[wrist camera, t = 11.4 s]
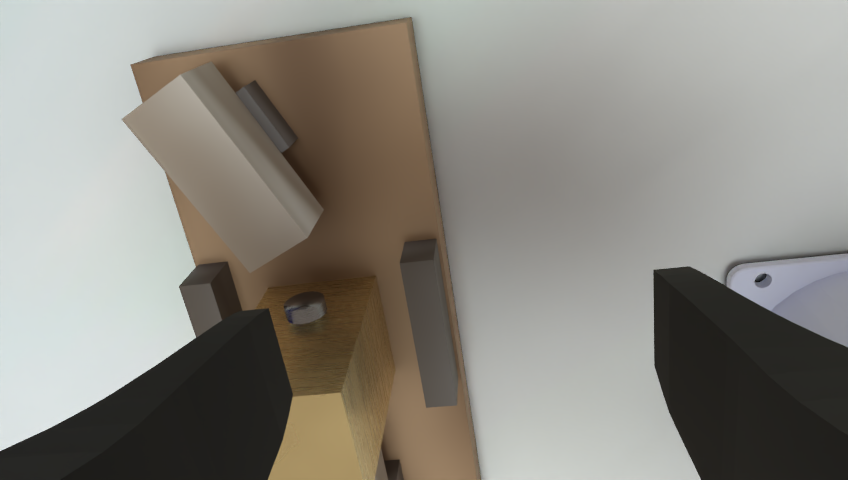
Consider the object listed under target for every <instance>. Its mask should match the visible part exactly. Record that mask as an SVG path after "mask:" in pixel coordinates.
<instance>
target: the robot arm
mask: <svg viewBox="0 0 848 480" xmlns="http://www.w3.org/2000/svg"><path fill="white" fill-rule="evenodd" d="M763 273H765V274H767V276H766V278H765V279H764V280H763V281H761V282H754V281H755V279H756V277H757V276H758V275H760V274H763ZM654 358H655V369H656V372H657V375H658V378H659V382H660V385H661V388H662V392H663V395H664V398H665V401H666V404H667V407H668V410H669V413H670V415H671V417H672V419H673V421H674V424H675V426H676V428H677V430H678V432H679V434H680V436H681V438H682V441H683V443H684V445H685V447H686V449H687V451H688V453H689V455H690V457H691V459H692V462H693V464H694V466H695V468H696V470H697V472H698V474H699V476H700V478H701V480H848V253H847V254H837V255H827V256H816V257H806V258H796V259H786V260H776V261H766V262H756V263H745V264H740V265H737V266H735V267H734V268H732V269H731V271H730V272H729V273H728V276H727V286H725V285H723V284H721V283H719V282H718V281H716V280H714V279H712V278H711V277H709V276H707V275H705V274H703V273H701V272H700V271H698V270H696V269H693V268H691V267H679V268H669V269H659V270H654ZM292 398H293V393H292V389H291V385H290V382H289V378H288V375H287V371H286V368H285V364H284V361H283V357H282V354H281V350H280V346H279V343H278V339H277V336H276V332H275V329H274V325H273V322H272V318H271V315H270V311H269V308H265V309H255V310H245V311H238V312H236V313H234V314H232V315H230V316H229V317H227V318H225V319H224V320H222V321H220V322H219V323H217V324H216V325H214V326H213V327H211V328H210V329H208V330H207V331H205V332H204V333H202V334H201V335H200V336H198V337H197V338H195V339H194V340H192V341H191V342H189V343H188V344H187V345H185V346H184V347H182V348H181V349H179V350H178V351H176V352H175V353H174V354H172V355H171V356H169V357H168V358H166V359H165V360H163V361H162V362H161V363H159V364H158V365H156V366H154V367H153V368H151V369H150V370H148V371H147V372H145V373H144V374H142V375H141V376H139V377H137V378H136V379H134V380H133V381H131V382H130V383H128V384H127V385H125V386H123V387H122V388H120V389H119V390H117V391H116V392H114V393H113V394H111V395H109V396H108V397H106V398H104V399H103V400H101V401H99V402H97V403H96V404H94V405H92V406H90V407H89V408H87V409H85V410H83V411H81V412H79V413H78V414H76V415H74V416H72V417H70V418H68V419H66V420H65V421H63V422H61V423H59V424H57V425H55V426H53V427H51V428H49V429H47V430H45V431H43V432H41V433H39V434H37V435H34V436H32V437H30V438H28V439H26V440H24V441H21V442H19V443H17V444H15V445H13V446H11V447H8V448H6V449H4V450H2V451H0V480H268V478H269V475H270V472H271V470H272V467H273V465H274V462H275V459H276V457H277V454H278V452H279V449H280V446H281V444H282V441H283V437H284V433H285V429H286V425H287V421H288V417H289V412H290V407H291V403H292Z"/></svg>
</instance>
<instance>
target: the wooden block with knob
mask: <svg viewBox="0 0 848 480" xmlns="http://www.w3.org/2000/svg"><path fill="white" fill-rule="evenodd" d="M265 308H269V311H270V315H271V318H272V322H273V325H274V329H275V332H276V336H277V339H278V343H279V346H280V350H281V354H282V357H283V361H284V364H285V368H286V371H287V375H288V378H289V382H290V385H291V389H292V393H293V398H292V403H291V407H290V412H289V417H288V421H287V425H286V429H285V433H284V437H283V441H282V444H281V446H280V449H279V452H278V454H277V457H276V459H275V462H274V465H273V467H272V470H271V472H270V475H269V478H268V480H375V475H376V470H377V465H378V460H379V454H380V449H381V444H382V438H383V433H384V428H385V422H386V417H387V412H388V407H389V401H390V396H391V391H392V385H393V380H394V375H395V370H396V368H395V364H394V359H393V354H392V349H391V345H390V340H389V335H388V330H387V325H386V321H385V316H384V311H383V306H382V302H381V297H380V292H379V287H378V282H377V278H376V276H368V277H359V278H350V279H341V280H332V281H323V282H314V283H304V284H295V285H286V286H277V287H268V289H267V291H266V292H265V294H264V295H263V297H262V299H261V300H260V302H259V304H258V305H257V307H256V309H265Z"/></svg>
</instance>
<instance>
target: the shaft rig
mask: <svg viewBox="0 0 848 480" xmlns="http://www.w3.org/2000/svg"><path fill="white" fill-rule="evenodd" d="M131 68H132V71H133V74H134V77H135V80H136V83H137V86H138V89H139V93H140V96H141V99H142V102H143V103H142V104H141V105H140V106H138V107H137V108H136V109H134V110H133V111H132V112H131V113H129V114H128V115H127V116H125V117H124V118H123V119H122V120H123V122H124V123H125V124H126V125H127V126H128V128H129V129H130V130H131V131H132V132H133V134H134V135H135V136H136V137H137V138H138V140H139V141H140V142H141V143H142V144H143V146H144V147H145V148H146V149H147V150H148V152H149V153H150V154H151V155H152V156H153V158H154V159H155V160H156V161H157V162H158V164H159V165H160V166H161V167H162V168H163V170H164V171H165V173H166V176H167V179H168V182H169V185H170V188H171V191H172V194H173V197H174V201H175V204H176V207H177V210H178V213H179V216H180V219H181V222H182V225H183V228H184V231H185V234H186V238H187V241H188V244H189V247H190V250H191V253H192V256H193V259H194V262H195V265H196V268H195V269H194V270H193V271H192V272H191V273H190V275H189V276H188V277H187V278H186V279H185V280H184V281H183V283H182V284H181V285H180V286H179V288H180V291H181V294H182V297H183V300H184V303H185V306H186V309H187V311H188V314H189V317H190V320H191V323H192V326H193V329H194V332H195V335H196V338H197V337H198V336H200V335H201V334H202V333H204V332H205V331H207V330H208V329H210V328H211V327H213V326H214V325H216V324H217V323H219V322H220V321H222V320H224V319H225V318H227V317H229V316H230V315H232V314H234V313H236V312H238V311H245V310H255V309H256V307H257V305H258V304H259V302H260V300H261V299H262V297H263V295H264V294H265V292H266V291H267V289H268V287H277V286H286V285H295V284H304V283H314V282H323V281H332V280H341V279H350V278H359V277H368V276H376V278H377V282H378V287H379V292H380V297H381V302H382V306H383V311H384V316H385V321H386V325H387V330H388V335H389V340H390V345H391V349H392V354H393V359H394V364H395V368H396V370H395V375H394V380H393V385H392V391H391V396H390V401H389V407H388V412H387V417H386V422H385V428H384V433H383V438H382V444H381V449H380V454H379V460H378V465H377V470H376V475H375V480H481V475H480V469H479V462H478V455H477V449H476V442H475V436H474V429H473V422H472V416H471V409H470V402H469V396H468V389H467V383H466V376H465V369H464V363H463V356H462V349H461V343H460V336H459V330H458V323H457V316H456V310H455V303H454V296H453V290H452V283H451V277H450V270H449V263H448V257H447V250H446V243H445V237H444V230H443V224H442V217H441V210H440V204H439V197H438V190H437V184H436V177H435V171H434V164H433V157H432V151H431V144H430V137H429V131H428V124H427V118H426V111H425V104H424V98H423V91H422V84H421V78H420V71H419V65H418V58H417V51H416V45H415V38H414V31H413V25H412V18H411V17H410V18H403V19H397V20H390V21H384V22H377V23H371V24H364V25H358V26H351V27H345V28H338V29H332V30H325V31H319V32H312V33H306V34H299V35H293V36H286V37H280V38H273V39H267V40H260V41H254V42H247V43H241V44H234V45H228V46H221V47H215V48H208V49H202V50H195V51H189V52H182V53H176V54H169V55H163V56H156V57H152V58H149V59H146V60H143V61H140V62H137V63H134V64H131Z"/></svg>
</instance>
